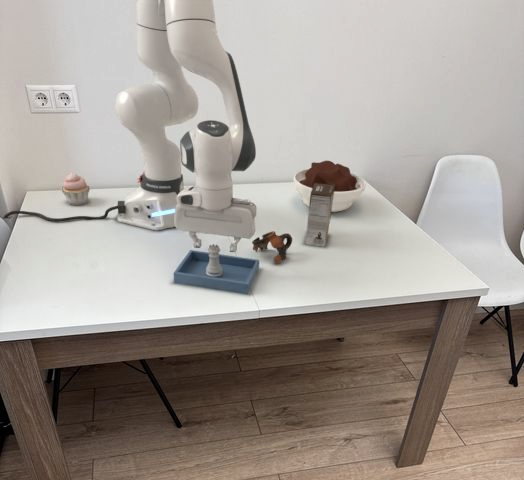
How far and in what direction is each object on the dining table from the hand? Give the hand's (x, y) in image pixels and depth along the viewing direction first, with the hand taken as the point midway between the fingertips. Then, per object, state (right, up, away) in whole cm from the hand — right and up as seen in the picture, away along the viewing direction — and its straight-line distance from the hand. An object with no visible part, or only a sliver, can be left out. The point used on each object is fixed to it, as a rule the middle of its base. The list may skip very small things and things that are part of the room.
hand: (215, 249), depth 126 cm
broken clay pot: (+15, +1, +16) cm, 22 cm away
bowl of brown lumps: (+35, +25, +49) cm, 65 cm away
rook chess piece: (-1, -6, +5) cm, 8 cm away
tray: (0, -6, +5) cm, 8 cm away
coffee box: (+29, +8, +26) cm, 40 cm away
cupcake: (-50, +24, +40) cm, 69 cm away
